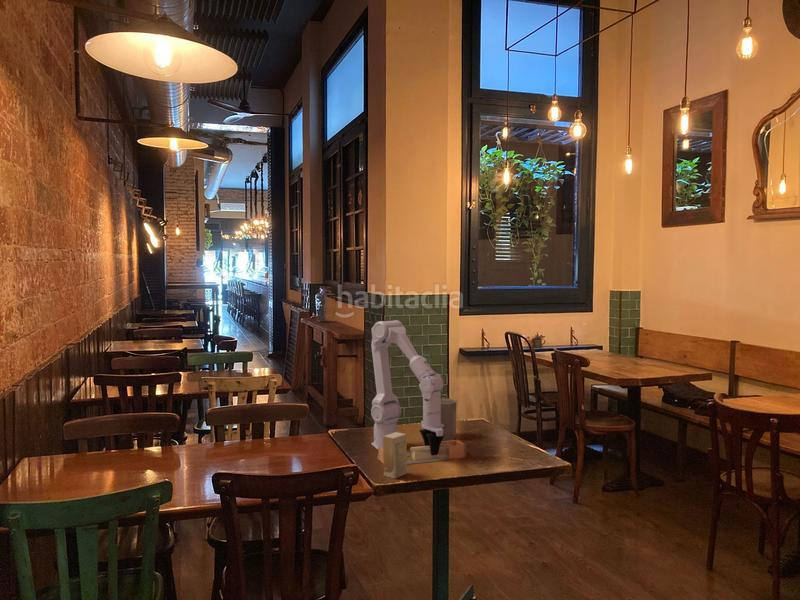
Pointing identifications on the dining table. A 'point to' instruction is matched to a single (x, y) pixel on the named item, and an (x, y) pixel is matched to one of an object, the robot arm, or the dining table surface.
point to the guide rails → (424, 459)
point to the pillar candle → (448, 418)
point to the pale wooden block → (428, 452)
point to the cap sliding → (380, 454)
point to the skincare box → (395, 455)
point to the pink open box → (455, 449)
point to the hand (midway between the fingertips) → (431, 453)
